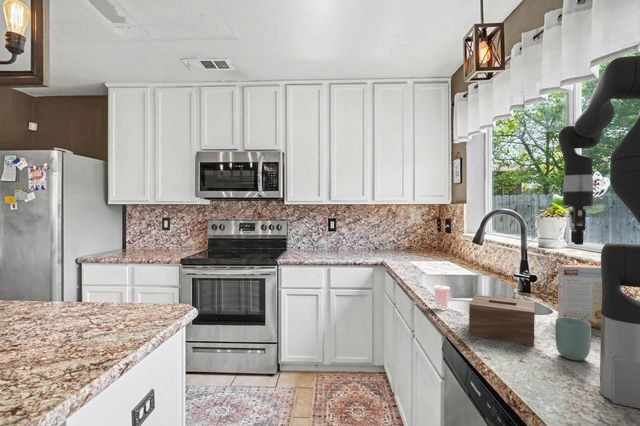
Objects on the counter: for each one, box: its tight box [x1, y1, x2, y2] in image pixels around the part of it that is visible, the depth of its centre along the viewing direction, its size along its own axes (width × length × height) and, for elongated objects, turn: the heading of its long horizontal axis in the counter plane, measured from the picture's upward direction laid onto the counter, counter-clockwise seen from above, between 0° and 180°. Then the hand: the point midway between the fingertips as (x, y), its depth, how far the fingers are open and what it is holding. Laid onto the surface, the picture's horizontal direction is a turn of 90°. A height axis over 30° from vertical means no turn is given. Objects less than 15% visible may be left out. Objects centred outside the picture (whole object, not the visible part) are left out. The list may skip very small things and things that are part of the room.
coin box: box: [468, 294, 536, 347], centre depth 120 cm, size 15×18×10 cm
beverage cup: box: [433, 273, 451, 310], centre depth 148 cm, size 6×6×14 cm
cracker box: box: [557, 264, 602, 329], centre depth 129 cm, size 14×6×21 cm, turn 76°
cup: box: [554, 317, 592, 362], centre depth 100 cm, size 8×8×10 cm
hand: (576, 243), depth 113 cm, fingers open, 8 cm apart
